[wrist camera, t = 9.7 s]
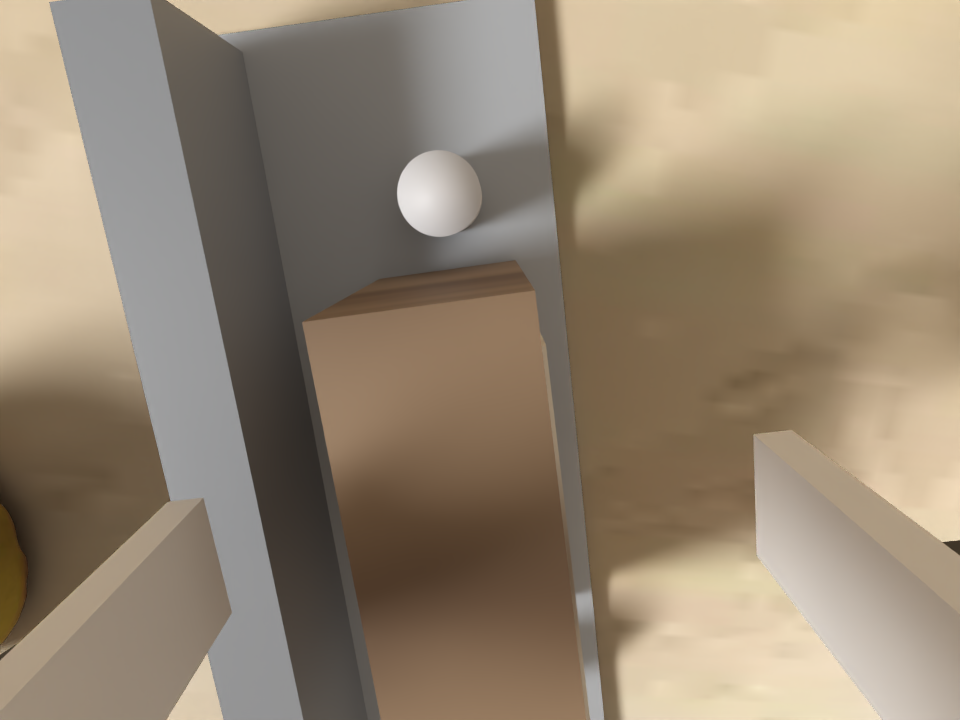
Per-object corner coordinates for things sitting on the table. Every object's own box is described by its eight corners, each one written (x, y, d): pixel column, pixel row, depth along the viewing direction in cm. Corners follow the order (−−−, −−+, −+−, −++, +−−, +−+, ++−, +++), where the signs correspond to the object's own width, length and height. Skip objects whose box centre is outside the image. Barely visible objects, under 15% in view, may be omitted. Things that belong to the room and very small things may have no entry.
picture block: (379, 279, 19) (301, 322, 11) (523, 259, 19) (547, 289, 11) (436, 612, 21) (405, 844, 13) (564, 598, 21) (610, 823, 13)
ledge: (142, 52, 18) (-7, -19, 13) (532, -2, 18) (551, -100, 12) (303, 790, 23) (247, 964, 18) (606, 761, 23) (643, 931, 18)
